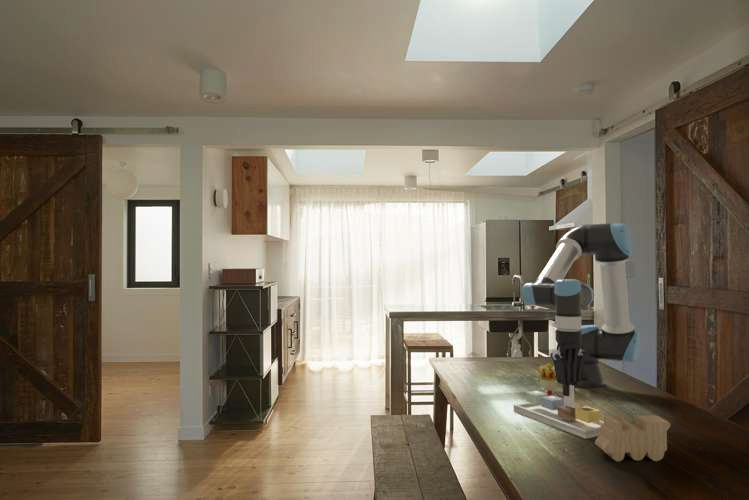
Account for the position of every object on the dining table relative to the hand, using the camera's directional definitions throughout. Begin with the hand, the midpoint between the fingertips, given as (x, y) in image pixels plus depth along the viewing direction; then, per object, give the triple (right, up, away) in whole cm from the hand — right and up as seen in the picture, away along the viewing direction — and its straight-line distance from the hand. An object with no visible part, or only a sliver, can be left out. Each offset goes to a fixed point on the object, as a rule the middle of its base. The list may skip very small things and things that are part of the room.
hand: (569, 405), depth 161 cm
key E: (-6, -2, +13) cm, 14 cm away
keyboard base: (-1, -6, +3) cm, 7 cm away
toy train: (+6, -6, -26) cm, 28 cm away
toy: (+2, -6, +24) cm, 25 cm away
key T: (0, -4, 0) cm, 4 cm away
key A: (+3, -2, -6) cm, 7 cm away
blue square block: (-3, -2, +6) cm, 7 cm away
